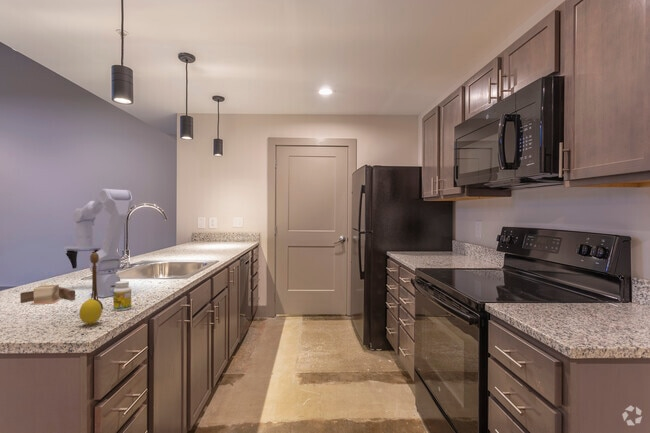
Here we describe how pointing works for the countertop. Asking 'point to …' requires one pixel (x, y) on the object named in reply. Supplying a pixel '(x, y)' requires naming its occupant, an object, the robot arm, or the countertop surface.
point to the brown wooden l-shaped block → (63, 293)
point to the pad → (46, 303)
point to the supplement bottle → (122, 296)
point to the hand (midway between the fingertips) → (84, 267)
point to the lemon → (90, 311)
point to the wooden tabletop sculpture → (94, 277)
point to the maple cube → (46, 293)
